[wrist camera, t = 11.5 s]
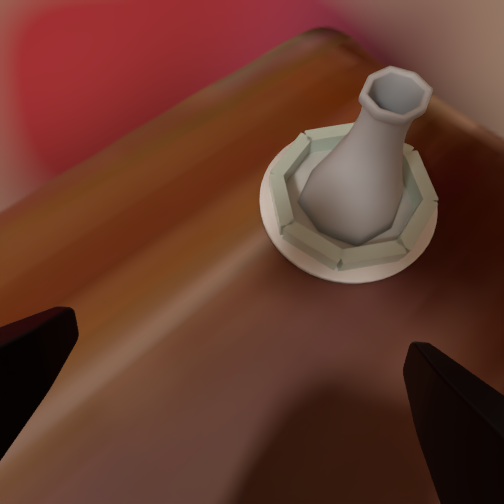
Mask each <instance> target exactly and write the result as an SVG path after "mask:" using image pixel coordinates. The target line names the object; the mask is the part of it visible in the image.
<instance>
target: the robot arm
mask: <svg viewBox="0 0 504 504" xmlns="http://www.w3.org/2000/svg"><path fill="white" fill-rule="evenodd" d="M78 336H79V332H78V326H77V321H76V316H75V312H74V310H73V309H72V308H70V307H61V306H57V307H53V308H51V309H48V310H45V311H43V312H40V313H37V314H34V315H32V316H29V317H26V318H24V319H21V320H18V321H16V322H13V323H10V324H7V325H5V326H2V327H0V461H1V459H2V458H3V456H4V455H5V453H6V452H7V450H8V449H9V448H10V446H11V445H12V443H13V442H14V440H15V439H16V438H17V436H18V435H19V433H20V432H21V430H22V429H23V427H24V426H25V425H26V423H27V422H28V420H29V419H30V417H31V416H32V415H33V413H34V412H35V410H36V409H37V407H38V406H39V405H40V403H41V402H42V400H43V399H44V397H45V396H46V394H47V393H48V391H49V390H50V388H51V386H52V385H53V383H54V381H55V379H56V378H57V376H58V374H59V372H60V371H61V369H62V367H63V365H64V363H65V362H66V360H67V358H68V356H69V355H70V353H71V351H72V349H73V347H74V346H75V344H76V342H77V340H78ZM403 376H404V381H405V385H406V389H407V394H408V398H409V403H410V407H411V411H412V416H413V420H414V425H415V428H416V432H417V436H418V439H419V442H420V445H421V448H422V451H423V454H424V457H425V460H426V463H427V465H428V468H429V471H430V474H431V477H432V480H433V483H434V486H435V489H436V491H437V494H438V497H439V500H440V503H441V504H504V395H502V394H501V393H499V392H498V391H497V390H495V389H494V388H492V387H491V386H489V385H488V384H487V383H485V382H484V381H482V380H481V379H480V378H478V377H477V376H475V375H474V374H472V373H471V372H470V371H468V370H467V369H465V368H464V367H463V366H461V365H460V364H458V363H457V362H455V361H454V360H453V359H451V358H450V357H448V356H447V355H446V354H444V353H443V352H441V351H440V350H438V349H437V348H436V347H434V346H433V345H431V344H430V343H425V342H412V343H411V344H410V346H409V349H408V353H407V356H406V360H405V363H404V367H403Z"/></svg>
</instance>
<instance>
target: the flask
mask: <svg viewBox="0 0 504 504" xmlns="http://www.w3.org/2000/svg"><path fill="white" fill-rule="evenodd" d="M432 92H433V88H432V87H431V86H430V85H429V84H427V83H426V82H425V81H424V80H423V79H422V78H421V77H420V76H419V75H418V74H417V73H416V72H412V71H409V70H405V69H401V68H398V67H394V66H388V67H386V68H383V69H381V70H379V71H377V72H375V73H373V74H371V75H369V76H368V78H367V80H366V82H365V85H364V87H363V89H362V92H361V94H360V96H359V102H360V104H361V105H362V110H361V112H360V115H359V117H358V118H357V120H356V122H355V123H354V125H353V127H352V128H351V130H350V131H349V132H348V134H347V135H346V136H345V137H344V138H343V139H342V140H341V141H340V142H339V143H338V144H337V146H336V147H335V148H334V149H333V150H332V151H331V152H330V153H329V154H328V155H327V156H326V157H325V158H324V159H323V160H322V161H321V162H320V163H319V164H318V165H317V166H316V167H315V168H314V169H313V170H312V171H311V173H310V175H309V177H308V179H307V182H306V184H305V186H304V188H303V190H302V193H301V195H300V197H299V199H298V201H297V202H298V203H299V205H300V206H301V207H302V209H303V210H304V212H305V213H306V215H307V216H308V217H309V219H310V220H311V222H312V223H313V225H314V226H315V227H316V229H317V230H318V232H320V233H323V234H325V235H328V236H331V237H333V238H336V239H338V240H341V241H344V242H346V243H349V244H352V245H354V246H357V247H358V246H360V245H362V244H364V243H366V242H367V241H369V240H371V239H373V238H375V237H377V236H378V235H380V234H382V233H384V232H386V231H387V230H389V229H391V228H392V225H393V222H394V219H395V216H396V213H397V210H398V208H399V205H400V202H401V199H402V194H403V181H402V164H403V144H404V141H405V137H406V134H407V131H408V129H409V127H410V125H411V123H412V122H413V120H414V119H416V118H418V117H420V116H422V115H423V114H424V113H425V111H426V109H427V107H428V104H429V101H430V98H431V95H432Z"/></svg>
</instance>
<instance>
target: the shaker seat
mask: <svg viewBox="0 0 504 504" xmlns="http://www.w3.org/2000/svg"><path fill="white" fill-rule="evenodd" d="M353 125H354V123H349V124H343V125H337V126H331V127H324V128H318V129H312V130H306V131H305V133H304V134H303V133H301V134H300V135H299V136H298V137H297V139H296V140H295V141H294V142H292V143H291V144H289V145H288V146H287V147H285V148H284V149H283V150H282V151H281V152H280V153H279V154H278V155H277V156H276V157H275V158H274V159H273V161H272V162H271V164H270V165H269V167H268V169H267V171H266V173H265V175H264V178H263V181H262V184H261V190H260V211H261V218H262V221H263V225H264V227H265V230H266V232H267V234H268V236H269V238H270V240H271V241H272V243H273V244H274V246H275V247H276V248H277V249H278V251H279V252H280V253H281V254H282V255H283V256H284V257H285V258H286V259H287V260H288V261H289V262H291V263H292V264H294V265H295V266H296V267H298V268H299V269H301V270H303V271H305V272H306V273H308V274H310V275H313V276H315V277H318V278H320V279H323V280H327V281H331V282H336V283H343V284H364V283H372V282H376V281H380V280H383V279H386V278H388V277H391V276H393V275H395V274H397V273H399V272H401V271H402V270H404V269H405V268H406V267H408V266H409V265H410V264H412V263H413V262H414V261H415V260H416V259H417V258H418V257H419V256H420V255H421V254H422V253H423V252H424V250H425V249H426V247H427V246H428V244H429V243H430V240H431V238H432V236H433V234H434V231H435V227H436V223H437V215H438V211H437V205H438V203H437V201H438V200H439V199H438V197H437V195H436V192H435V190H434V188H433V185H432V183H431V181H430V178H429V176H428V174H427V171H426V169H425V167H424V164H423V162H422V160H421V158H420V155H419V153H418V151H417V150H416V151H412V150H413V149H414V147H413V146H411V145H408V144H406V143H404V144H403V164H402V181H403V194H402V199H401V202H400V205H399V208H398V210H397V213H396V216H395V219H394V222H393V225H392V228H391V229H389V230H387V231H386V232H384V233H382V234H380V235H378V236H377V237H375V238H373V239H371V240H369V241H367V242H366V243H364V244H362V245H360V246H358V247H357V246H354V245H352V244H349V243H346V242H344V241H341V240H338V239H336V238H333V237H331V236H328V235H325V234H323V233H320V232H318V230H317V229H316V227H315V226H314V225H313V223H312V222H311V220H310V219H309V217H308V216H307V215H306V213H305V212H304V210H303V209H302V207H301V206H300V205H299V203H298V202H297V201H298V199H299V197H300V195H301V193H302V190H303V188H304V186H305V184H306V182H307V179H308V177H309V175H310V173H311V171H312V170H313V169H314V168H315V167H316V166H317V165H318V164H319V163H320V162H321V161H322V160H323V159H324V158H325V157H326V156H327V155H328V154H329V153H330V152H331V151H332V150H333V149H334V148H335V147H336V146H337V144H338V143H339V142H340V141H341V140H342V139H343V138H344V137H345V136H346V135H347V134H348V132H349V131H350V130H351V128H352V127H353Z"/></svg>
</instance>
